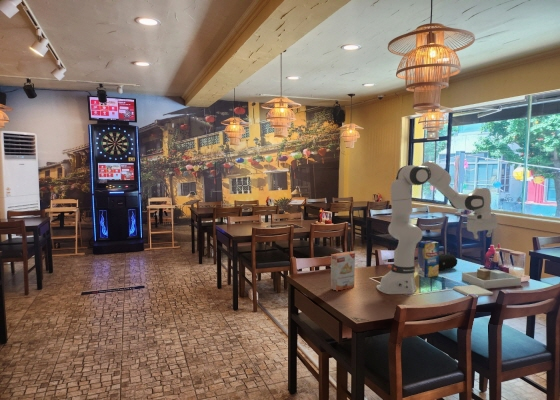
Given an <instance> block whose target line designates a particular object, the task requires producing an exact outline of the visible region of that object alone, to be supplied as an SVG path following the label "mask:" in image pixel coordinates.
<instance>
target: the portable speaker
mask: <svg viewBox="0 0 560 400" xmlns="http://www.w3.org/2000/svg"><path fill="white" fill-rule="evenodd" d="M457 265H458V259H457V257H456V256H455V255H454V254H450V253H447V254H439V271H443V270H451V269H454V268H455V267H457Z"/></svg>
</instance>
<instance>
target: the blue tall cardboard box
mask: <svg viewBox="0 0 560 400" xmlns="http://www.w3.org/2000/svg"><path fill="white" fill-rule="evenodd" d="M439 255H440V242H439V241H435V240H423V241H421V240H420V241H419V242H418V243H417V276H420V277H422V278H432V277H438V276H439V271H440V270H439Z"/></svg>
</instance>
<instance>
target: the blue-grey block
mask: <svg viewBox="0 0 560 400" xmlns="http://www.w3.org/2000/svg"><path fill="white" fill-rule="evenodd" d="M500 271H501V270H499V271H491V280H496V279H505V273H506V272H505V273H503V272H504V271H502V272H500Z"/></svg>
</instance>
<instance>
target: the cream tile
mask: <svg viewBox="0 0 560 400" xmlns="http://www.w3.org/2000/svg"><path fill="white" fill-rule="evenodd" d="M453 291H456V292H458V293H460V294H463V295H465V296H467V295H468V294H475V295H478V297H481V296H482V297H483V296H491V295H494V292H493V291H490V290H488V289H483V288H481V287H478V286H476V285H473V284H468V285H459V286H458V285H456V286H453Z"/></svg>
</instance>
